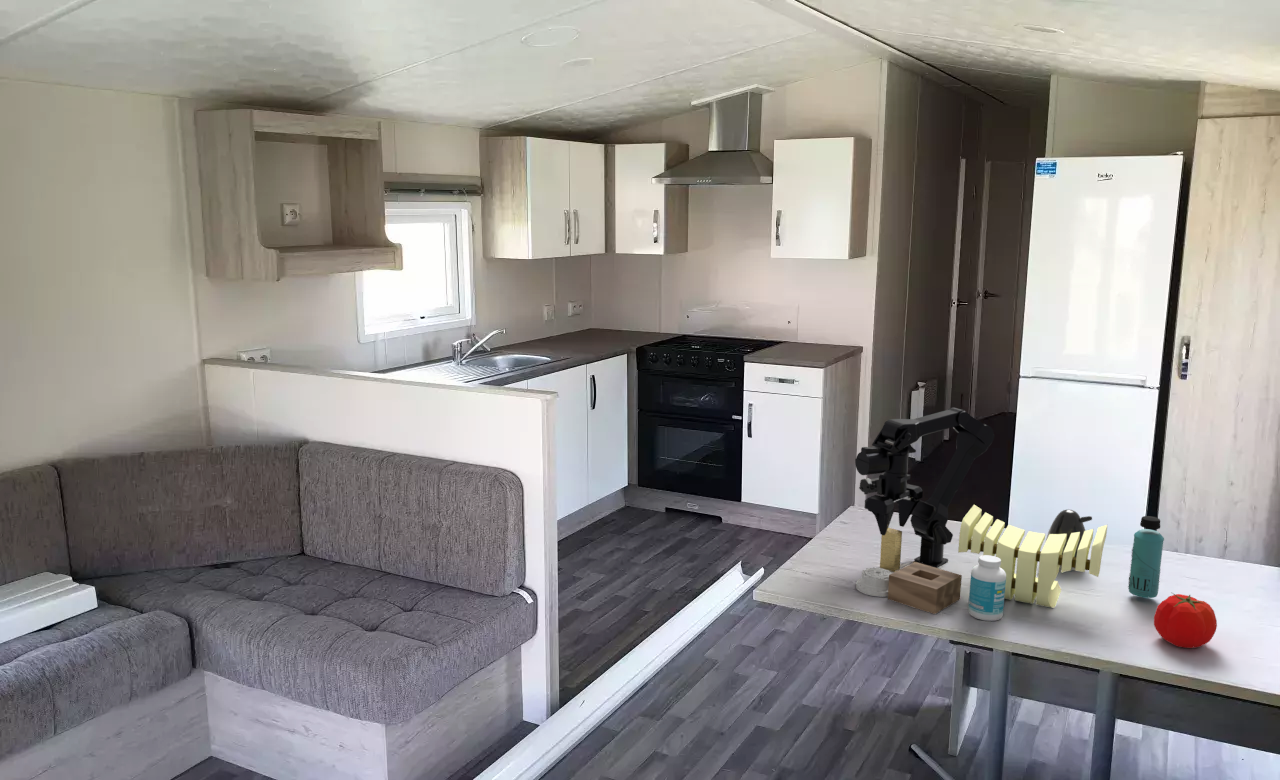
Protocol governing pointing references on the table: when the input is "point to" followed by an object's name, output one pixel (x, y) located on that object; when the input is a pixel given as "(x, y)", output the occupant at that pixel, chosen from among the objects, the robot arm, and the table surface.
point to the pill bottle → (987, 589)
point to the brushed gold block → (891, 550)
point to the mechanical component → (874, 582)
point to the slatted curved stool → (1031, 555)
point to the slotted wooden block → (924, 587)
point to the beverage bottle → (1146, 559)
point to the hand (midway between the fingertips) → (892, 530)
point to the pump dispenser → (1068, 526)
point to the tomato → (1185, 621)
